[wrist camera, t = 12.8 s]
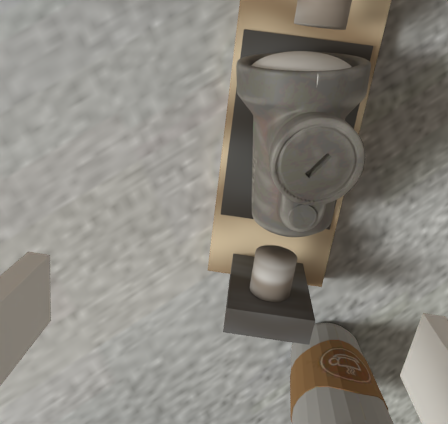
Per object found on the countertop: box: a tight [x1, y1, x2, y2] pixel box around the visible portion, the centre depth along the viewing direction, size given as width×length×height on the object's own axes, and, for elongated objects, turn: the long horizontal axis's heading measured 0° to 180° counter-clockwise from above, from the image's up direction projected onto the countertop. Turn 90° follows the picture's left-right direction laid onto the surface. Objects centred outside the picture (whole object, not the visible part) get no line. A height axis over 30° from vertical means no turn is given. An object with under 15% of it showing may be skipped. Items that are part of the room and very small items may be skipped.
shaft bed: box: [208, 0, 391, 345], centre depth 28 cm, size 25×10×10 cm, turn 173°
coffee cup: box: [290, 323, 393, 424], centre depth 33 cm, size 8×8×15 cm
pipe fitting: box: [236, 51, 371, 237], centre depth 27 cm, size 12×8×10 cm
